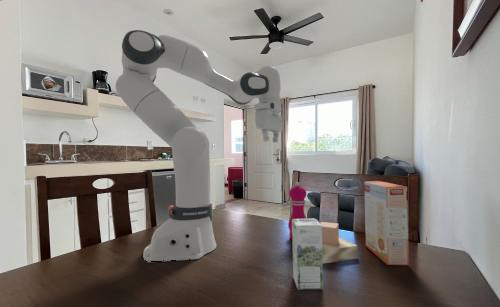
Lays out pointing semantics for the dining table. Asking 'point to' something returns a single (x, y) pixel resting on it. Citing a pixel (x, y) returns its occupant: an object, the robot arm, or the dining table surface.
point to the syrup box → (307, 254)
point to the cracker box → (387, 221)
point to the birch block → (339, 251)
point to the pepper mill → (297, 204)
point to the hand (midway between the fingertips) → (271, 141)
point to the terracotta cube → (330, 233)
